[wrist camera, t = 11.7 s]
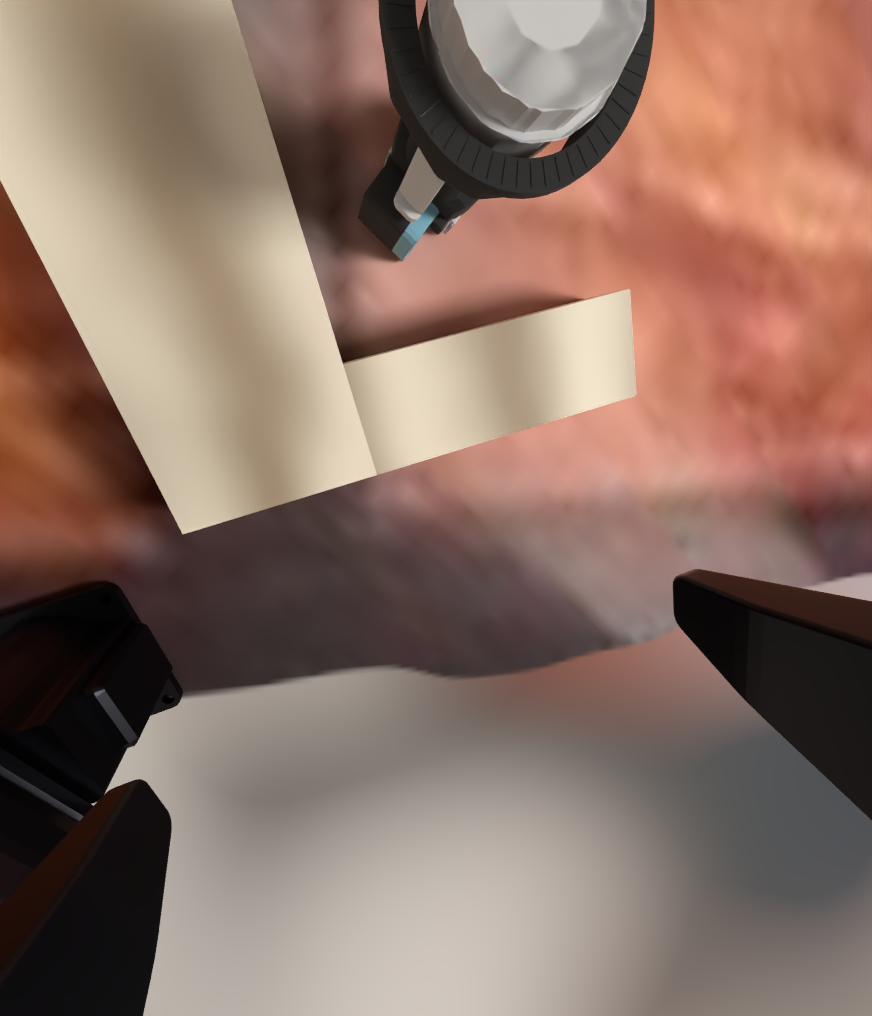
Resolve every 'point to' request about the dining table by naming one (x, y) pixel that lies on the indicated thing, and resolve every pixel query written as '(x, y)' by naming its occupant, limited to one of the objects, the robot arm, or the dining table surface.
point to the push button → (500, 102)
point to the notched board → (239, 273)
